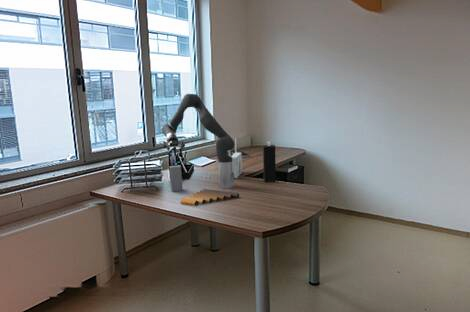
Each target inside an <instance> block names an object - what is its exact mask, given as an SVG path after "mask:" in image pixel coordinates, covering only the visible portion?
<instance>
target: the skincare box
mask: <svg viewBox="0 0 470 312" xmlns="http://www.w3.org/2000/svg"><path fill="white" fill-rule="evenodd" d="M231 157H232V166H233V172H234V178H236V179H238V178H239V176H240V175H241V174H242V171H243V169H242V162H243V160H242V159H243V157H242V153H234V154H233V155H232V156H231Z"/></svg>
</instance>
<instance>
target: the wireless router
mask: <svg viewBox="0 0 470 312" xmlns="http://www.w3.org/2000/svg"><path fill="white" fill-rule="evenodd" d="M227 134H228V135H229V136H230V134H229V133H227ZM237 142H238V141H237V137H235V141H234V149H232V150H229V151H227V155H228V156H232V155H233V154H234V153H242V158H248V157H249V154H248V153H246V152H245V151H241V150H237V147H238V145H237Z"/></svg>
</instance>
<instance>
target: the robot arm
mask: <svg viewBox="0 0 470 312" xmlns="http://www.w3.org/2000/svg"><path fill="white" fill-rule="evenodd" d="M182 97H183V98H182V99H181V101H180V103H179V106H178V107H177V110H176V111H175V113H174V115H172V117H171V119H170V120H169V124H168V123H167V124H163V125H162V127H161V132H162V134H163V135H164V136H165V137H166V141H165V140H164V141H163V149H166V150H167V151H168V152H169V151H170V149H171V148H173V147H175V148H179V149H180V151H183V150H184V149H185V148H186V143H185V141H184V140H181V141H179V138H178V136H177V134H176V133H177V131H178V128H179V127H180V124H181V123H182V122H183V119H184V117H185V111H186V110H187V109H188V108H194V110H195V111H196V112H197V113H198V114H199V122H200V124H201V125H202V126H203V127H204V129H205V130H206V131H208V132H210V133H211V134H213V135H214V136H216V137H217V140H216V143H215V151H216V158H217V161H218V162H217V163H218V179H219V180H218V181H219V188H220V189H232V188H234V187H235V179H234V172H233V166H232V157H231V156H230V155H228V154H227V152H228V151H229V150H231V151H233V150H234V149H235V141H234V139H233V138H232V137H231V135H230V134H229V133H228V132H227V131H226V130H225V129H224V128H223V127H222V126H221V125H220V124H219V122H218V121H217V120H216V118H215V117H214V116H213V114H211V112H210V111H209V109H208V108H207V107H206V105H205V104H204V102H203V101H202V98H200V96H199V95H198V94H195V93H186V94H184V95H183V96H182ZM228 134H229V135H228Z"/></svg>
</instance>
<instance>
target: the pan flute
mask: <svg viewBox="0 0 470 312" xmlns="http://www.w3.org/2000/svg"><path fill="white" fill-rule="evenodd" d="M238 198H239V199H240V194H239V192H233V191H232V192H230V191H223V190H214V189H207V188H203V189H201V190H199V191H196V192H195V193H192V194H189V196H185V198H184V197H183V198H181V199H180V204H183V205H190V206H194V207H196V206H198V205H205V204H206V203H207V204H211V203H212V202H215V203H218V202H220V201H223V202H224V201H225V200H230V201H231V200H232V199H238Z"/></svg>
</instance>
